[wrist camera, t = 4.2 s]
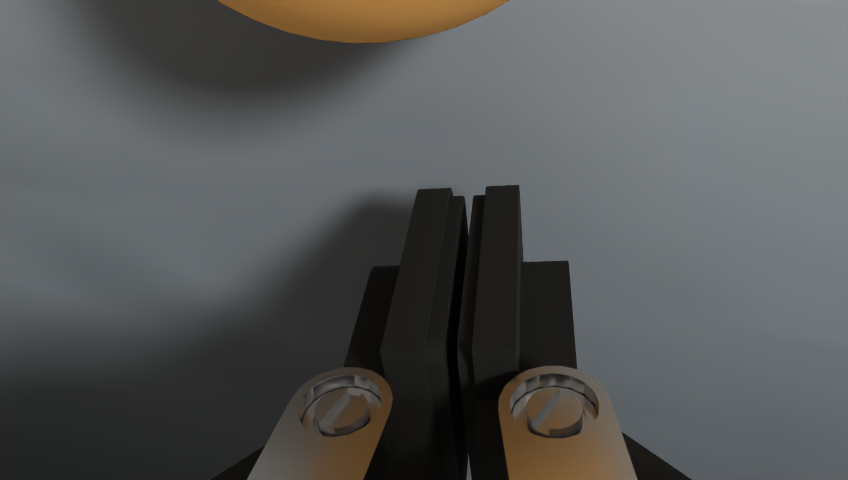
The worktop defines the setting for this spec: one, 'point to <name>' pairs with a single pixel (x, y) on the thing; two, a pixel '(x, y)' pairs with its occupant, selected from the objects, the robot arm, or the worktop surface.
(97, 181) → the worktop surface
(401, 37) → the ball
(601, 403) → the robot arm
